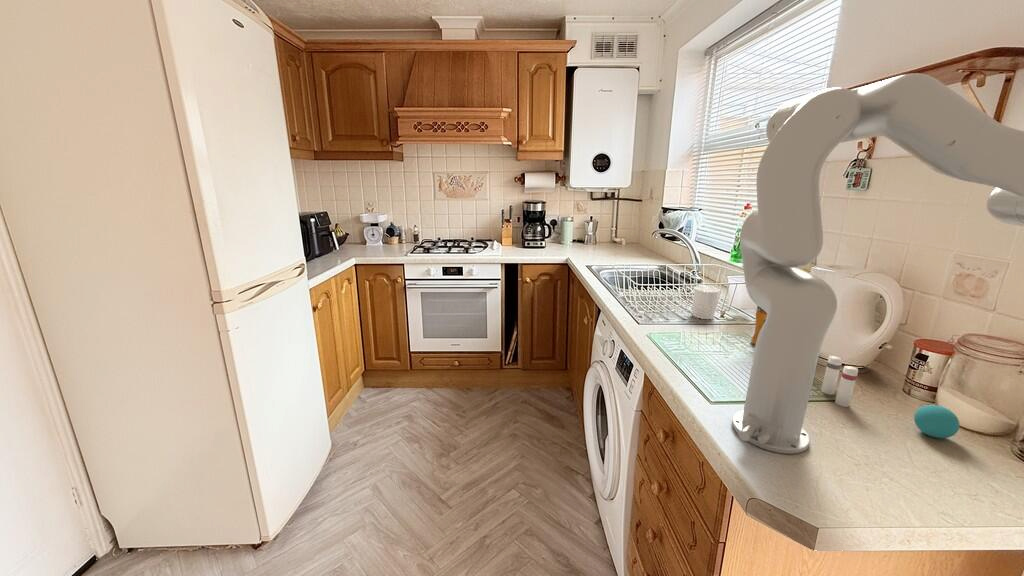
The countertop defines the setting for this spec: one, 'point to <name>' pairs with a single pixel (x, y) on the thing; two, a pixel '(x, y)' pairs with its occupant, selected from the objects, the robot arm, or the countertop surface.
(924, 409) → the teal egg
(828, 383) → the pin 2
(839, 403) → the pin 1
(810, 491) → the countertop surface
